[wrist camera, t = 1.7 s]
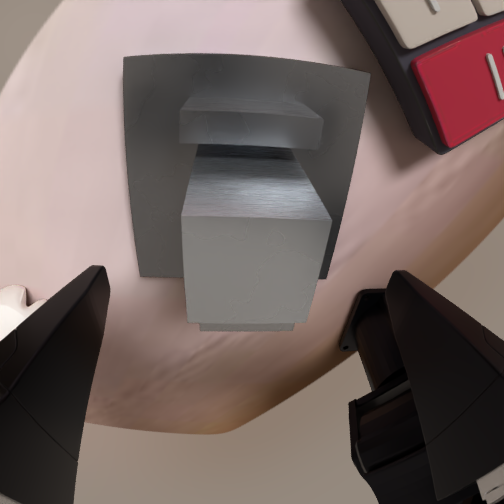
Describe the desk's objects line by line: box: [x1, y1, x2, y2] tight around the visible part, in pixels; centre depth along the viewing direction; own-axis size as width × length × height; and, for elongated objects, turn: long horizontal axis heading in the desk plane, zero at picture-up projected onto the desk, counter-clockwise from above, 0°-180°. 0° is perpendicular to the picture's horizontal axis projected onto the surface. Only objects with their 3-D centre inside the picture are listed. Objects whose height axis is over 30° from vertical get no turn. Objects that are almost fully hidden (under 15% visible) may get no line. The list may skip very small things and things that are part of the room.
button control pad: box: [341, 0, 504, 155], centre depth 10 cm, size 11×4×15 cm
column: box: [181, 144, 332, 331], centre depth 13 cm, size 4×4×7 cm
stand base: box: [123, 53, 371, 289], centre depth 14 cm, size 12×11×5 cm
